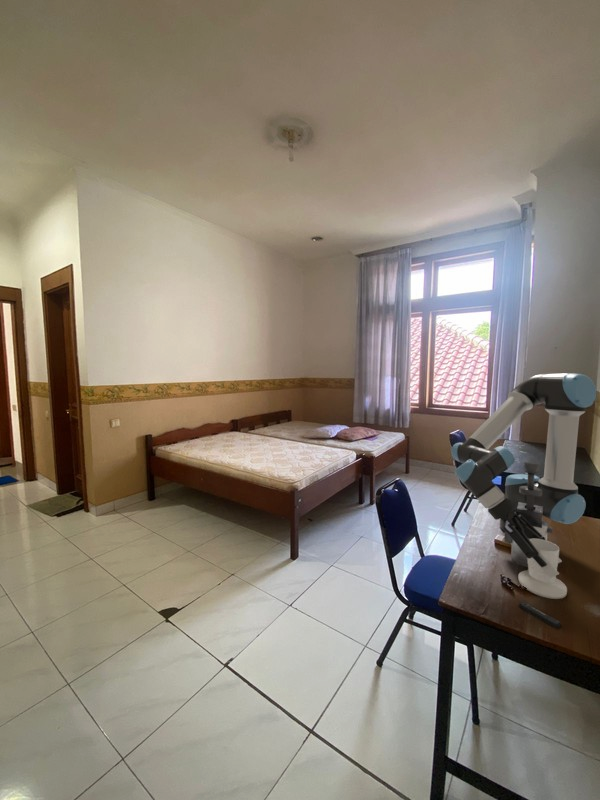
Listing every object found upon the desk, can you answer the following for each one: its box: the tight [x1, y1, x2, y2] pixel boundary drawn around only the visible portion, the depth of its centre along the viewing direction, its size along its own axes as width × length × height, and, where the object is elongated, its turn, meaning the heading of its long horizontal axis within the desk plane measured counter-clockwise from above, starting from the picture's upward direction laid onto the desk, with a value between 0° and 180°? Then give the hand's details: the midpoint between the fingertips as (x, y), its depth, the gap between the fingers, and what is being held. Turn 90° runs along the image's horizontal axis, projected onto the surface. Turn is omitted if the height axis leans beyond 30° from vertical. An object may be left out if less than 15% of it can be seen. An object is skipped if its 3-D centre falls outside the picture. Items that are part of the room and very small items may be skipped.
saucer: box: [518, 569, 568, 600], centre depth 101 cm, size 12×12×1 cm
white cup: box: [527, 538, 560, 583], centre depth 101 cm, size 8×8×10 cm
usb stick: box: [518, 601, 562, 629], centre depth 89 cm, size 10×3×2 cm, turn 29°
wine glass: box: [519, 461, 542, 510], centre depth 113 cm, size 6×6×16 cm
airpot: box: [504, 502, 553, 568], centre depth 114 cm, size 13×10×19 cm
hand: (556, 569), depth 98 cm, fingers closed on white cup, 8 cm apart
